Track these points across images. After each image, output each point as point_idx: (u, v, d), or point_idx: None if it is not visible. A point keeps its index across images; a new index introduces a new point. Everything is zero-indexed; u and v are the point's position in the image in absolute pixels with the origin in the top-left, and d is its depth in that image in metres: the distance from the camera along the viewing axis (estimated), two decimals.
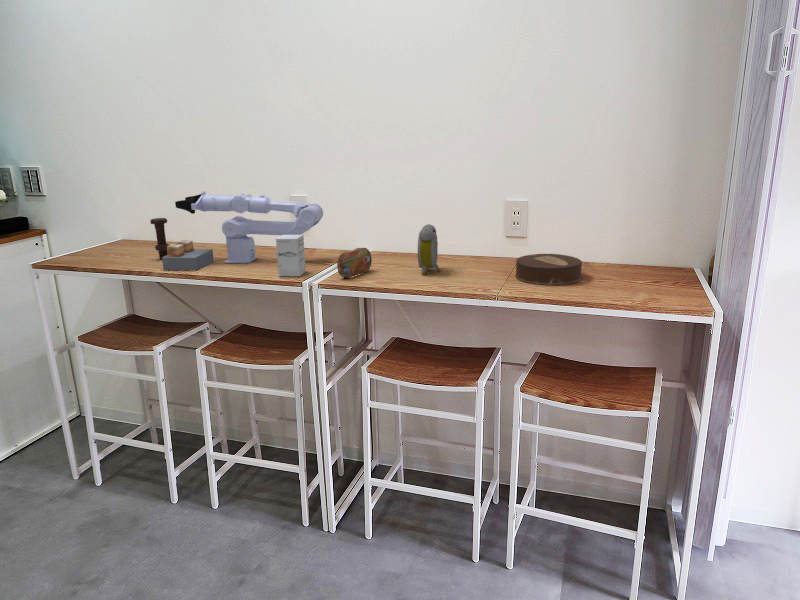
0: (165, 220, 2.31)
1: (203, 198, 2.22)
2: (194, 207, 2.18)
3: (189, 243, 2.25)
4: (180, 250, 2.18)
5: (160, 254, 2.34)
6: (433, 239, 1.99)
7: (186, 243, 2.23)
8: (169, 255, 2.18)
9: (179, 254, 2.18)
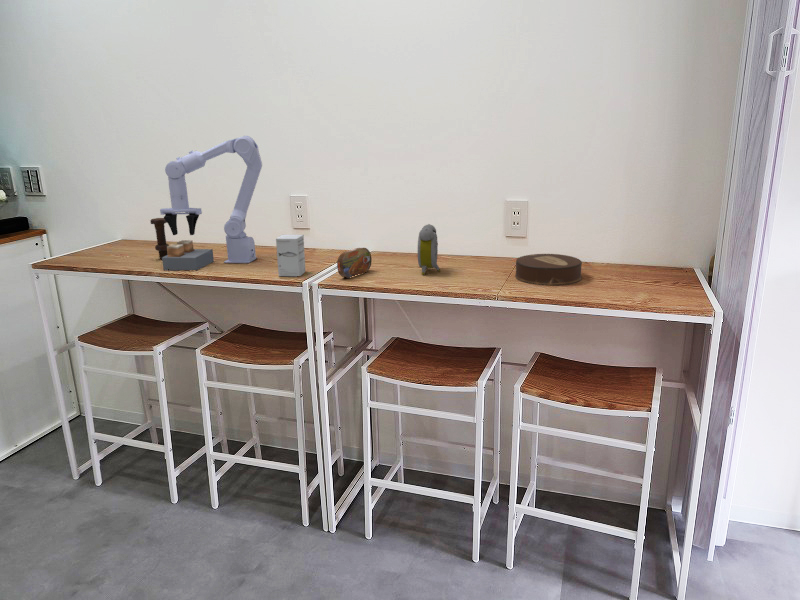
0: (165, 220, 2.31)
1: (183, 208, 2.20)
2: (200, 210, 2.21)
3: (189, 243, 2.25)
4: (180, 250, 2.18)
5: (160, 254, 2.34)
6: (433, 239, 1.99)
7: (186, 243, 2.23)
8: (169, 255, 2.18)
9: (179, 254, 2.18)
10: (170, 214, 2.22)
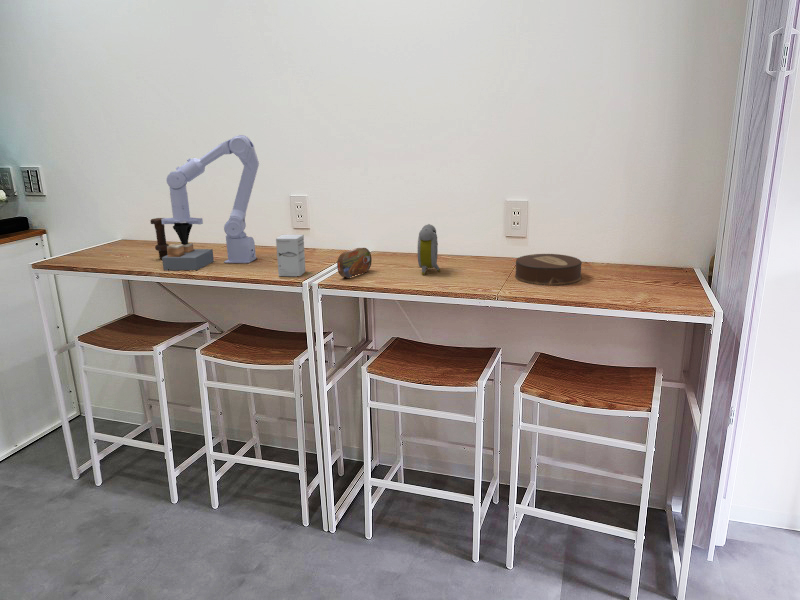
0: None
1: (184, 218, 2.21)
2: (201, 220, 2.22)
3: (189, 246, 2.25)
4: (180, 250, 2.18)
5: (160, 254, 2.34)
6: (433, 239, 1.99)
7: (186, 246, 2.24)
8: (169, 255, 2.18)
9: (179, 254, 2.18)
10: None
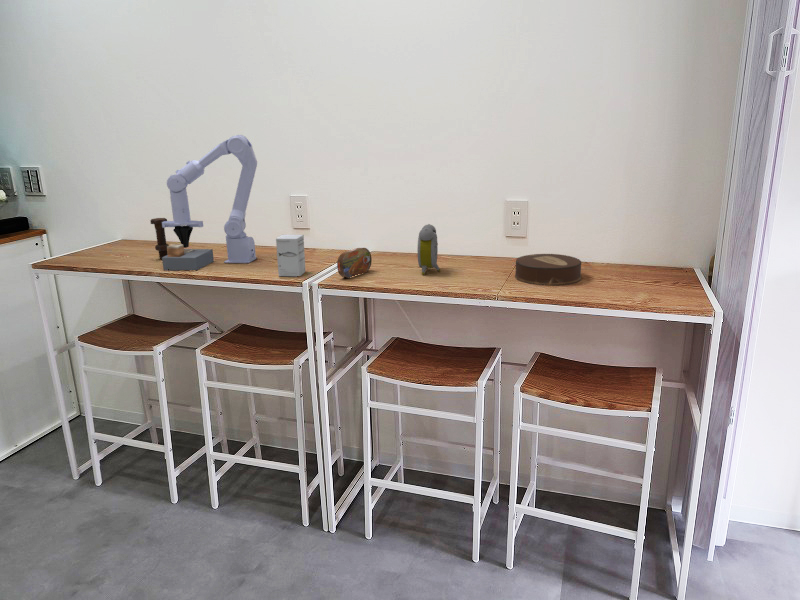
0: (165, 220, 2.31)
1: (184, 221, 2.21)
2: (202, 223, 2.23)
3: None
4: (180, 250, 2.18)
5: (160, 254, 2.34)
6: (433, 239, 1.99)
7: None
8: (169, 255, 2.18)
9: (179, 254, 2.18)
10: None
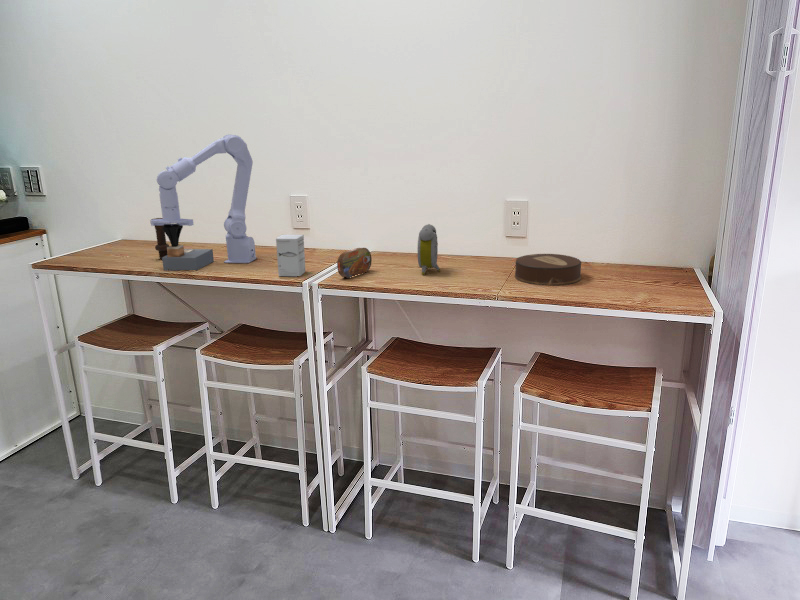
0: None
1: (174, 219, 2.14)
2: (192, 221, 2.15)
3: None
4: (180, 251, 2.19)
5: (160, 254, 2.34)
6: (433, 239, 1.99)
7: None
8: (169, 256, 2.18)
9: (179, 255, 2.18)
10: None
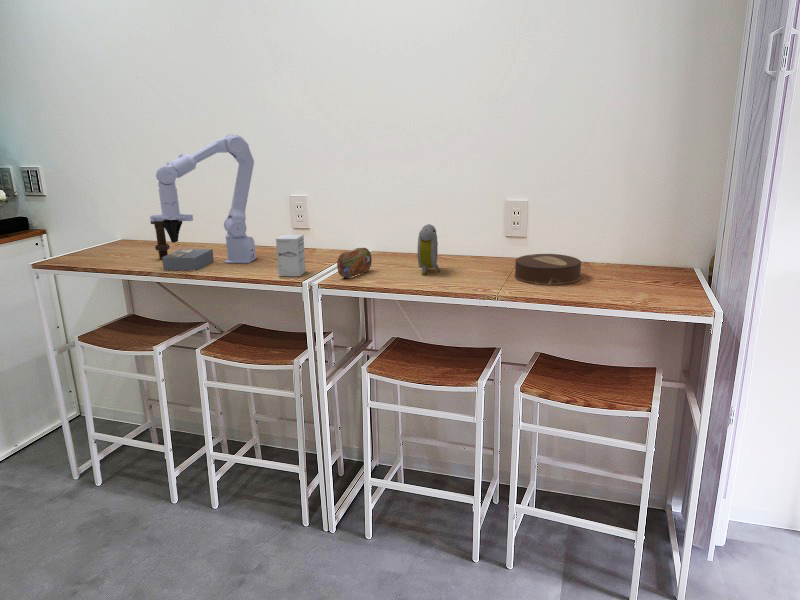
0: None
1: (173, 214, 2.13)
2: (191, 217, 2.15)
3: None
4: None
5: (160, 254, 2.34)
6: (433, 239, 1.99)
7: None
8: None
9: None
10: None
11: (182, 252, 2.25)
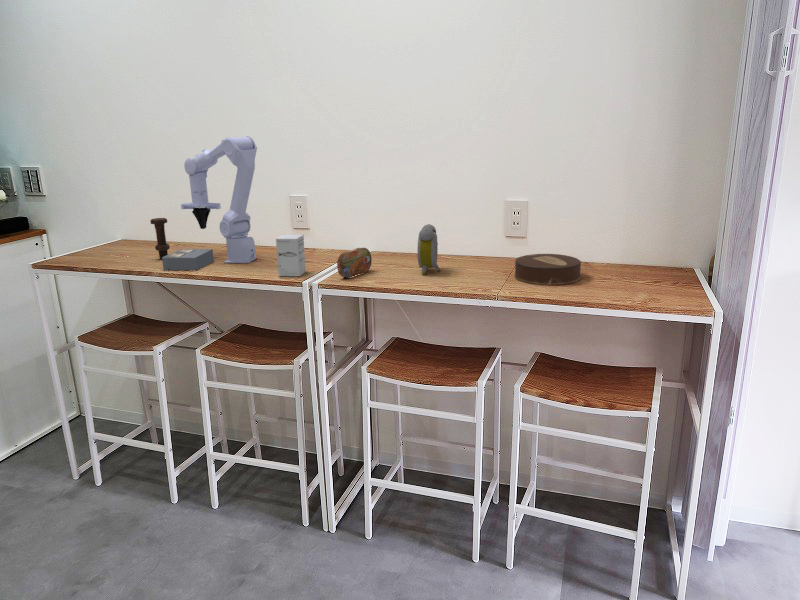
0: (165, 220, 2.31)
1: (203, 203, 2.31)
2: (219, 205, 2.33)
3: None
4: None
5: (160, 254, 2.34)
6: (433, 239, 1.99)
7: None
8: None
9: None
10: None
11: (182, 252, 2.25)
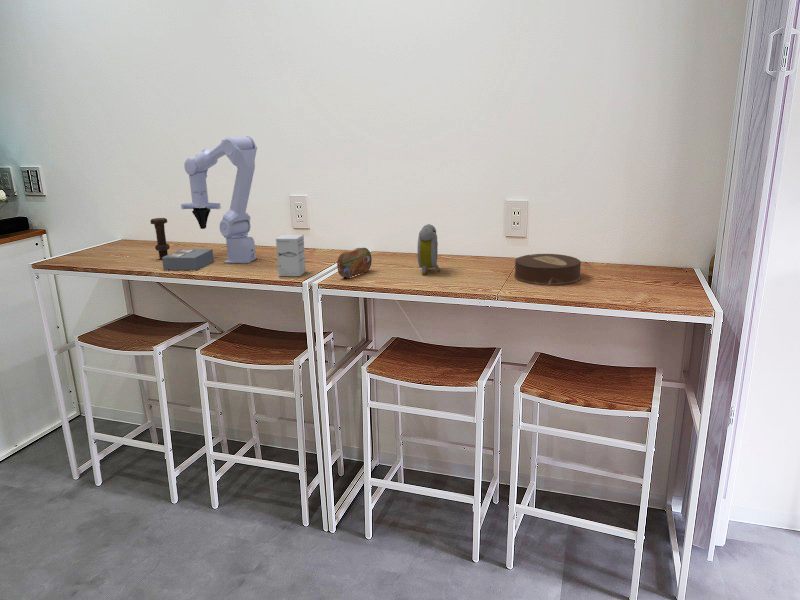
0: (165, 220, 2.31)
1: (203, 203, 2.31)
2: (219, 205, 2.33)
3: None
4: None
5: (160, 254, 2.34)
6: (433, 239, 1.99)
7: None
8: None
9: None
10: None
11: (182, 252, 2.25)
